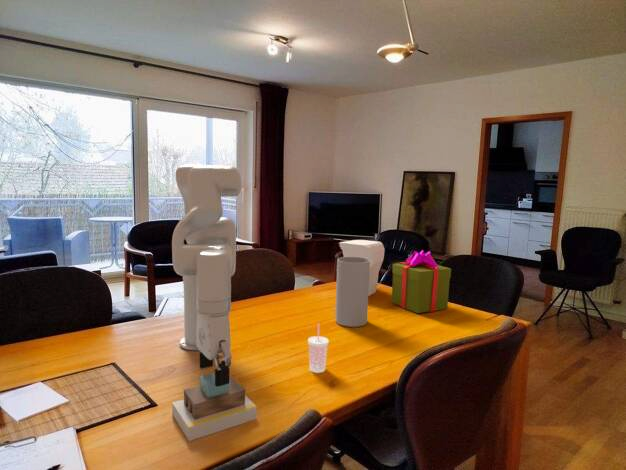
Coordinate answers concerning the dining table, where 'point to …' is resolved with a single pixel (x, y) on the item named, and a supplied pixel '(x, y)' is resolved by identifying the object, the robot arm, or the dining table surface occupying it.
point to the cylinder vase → (352, 291)
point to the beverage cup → (317, 352)
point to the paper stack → (368, 251)
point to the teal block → (212, 386)
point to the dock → (212, 419)
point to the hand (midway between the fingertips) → (214, 375)
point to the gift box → (420, 284)
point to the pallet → (213, 400)
